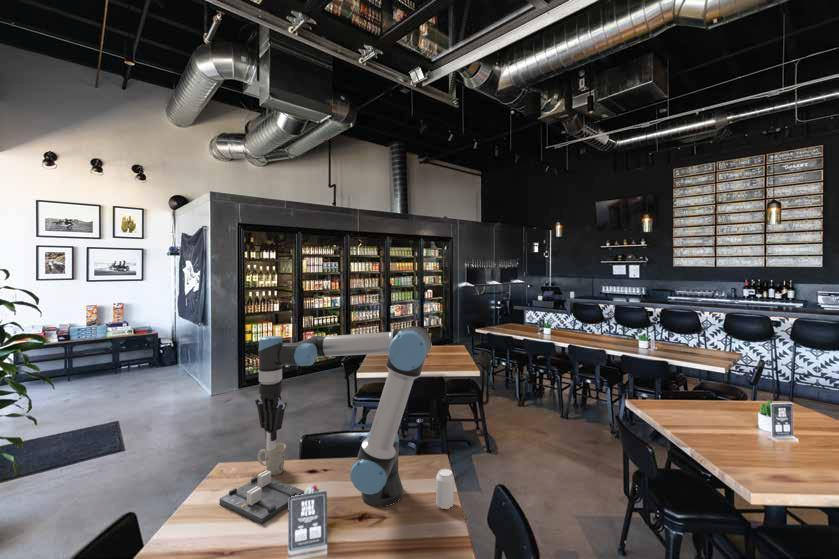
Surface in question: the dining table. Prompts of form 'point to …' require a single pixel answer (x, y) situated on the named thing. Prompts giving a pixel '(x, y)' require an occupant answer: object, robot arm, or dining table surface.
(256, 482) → the console
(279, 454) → the mug
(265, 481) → the fader
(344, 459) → the dining table surface
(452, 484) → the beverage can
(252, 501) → the fader
